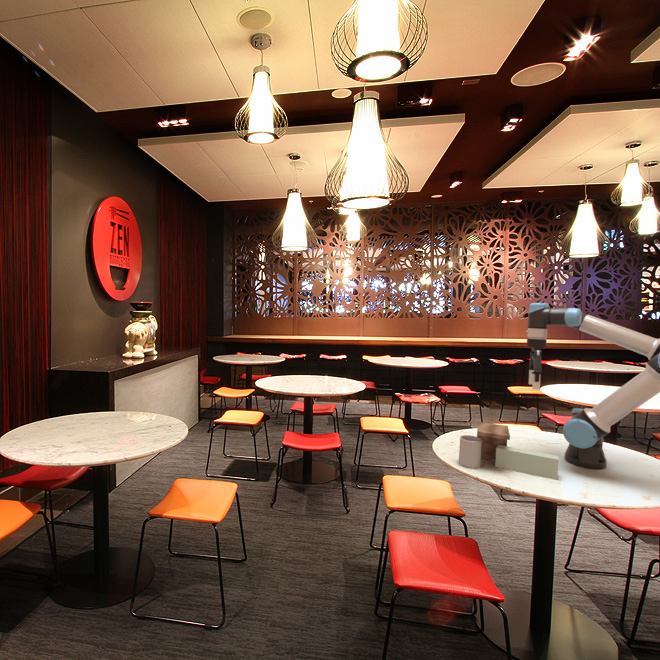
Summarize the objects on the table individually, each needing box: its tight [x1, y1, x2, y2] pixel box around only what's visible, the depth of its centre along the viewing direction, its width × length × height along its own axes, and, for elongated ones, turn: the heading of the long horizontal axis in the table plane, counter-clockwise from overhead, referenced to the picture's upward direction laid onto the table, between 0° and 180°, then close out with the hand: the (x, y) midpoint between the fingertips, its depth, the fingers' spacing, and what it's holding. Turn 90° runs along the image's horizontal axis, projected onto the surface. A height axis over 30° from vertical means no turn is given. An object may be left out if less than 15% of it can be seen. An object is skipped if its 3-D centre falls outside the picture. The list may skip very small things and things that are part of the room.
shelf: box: [476, 421, 511, 461], centre depth 159 cm, size 12×16×15 cm
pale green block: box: [494, 445, 560, 480], centre depth 153 cm, size 22×5×8 cm, turn 60°
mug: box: [458, 434, 482, 469], centre depth 160 cm, size 12×8×11 cm
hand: (533, 386), depth 167 cm, fingers open, 13 cm apart
